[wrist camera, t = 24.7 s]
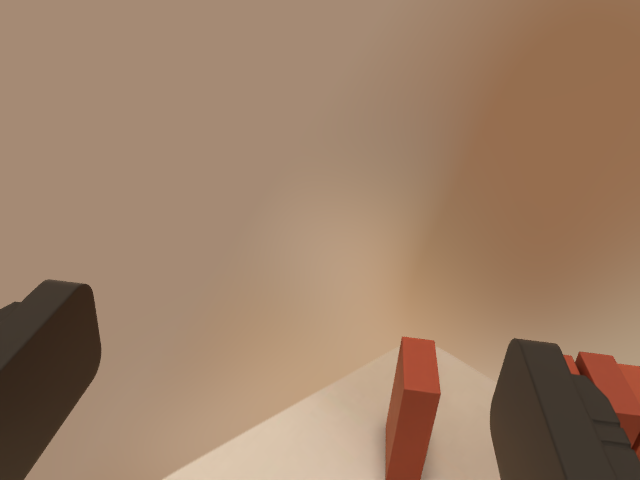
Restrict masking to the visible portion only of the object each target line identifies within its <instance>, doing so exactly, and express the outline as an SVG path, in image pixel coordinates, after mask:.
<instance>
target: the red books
mask: <svg viewBox="0 0 640 480" xmlns="http://www.w3.org/2000/svg"><path fill="white" fill-rule="evenodd" d="M563 356H564V358H565V360H566V363H567V365H568V367H569V369H570V372H571V374H577V375H585V376H587V377H588V378H589V379H590V380H591V381H592V382H593V383H594V384H595V385H596V386H597V387H598V388H599V389H600V391H601V392H602V393H603V394H604V395H605V396H606V397H607V398H608V399H609V401H610V403H611V405H612V407H613V409H614V411H615V413H616V415H617V417H618V419H619V421H620V423H621V424H620V427H621V428H623V429H624V431H625V433H626V435H627V437H628V439H629V441H630V443H631V449H633V450H634V451H635V453H636V455H637V457H638V459H639V461H640V366H632V365H624V364H617V363H616V361H615V359H614V357H613V356H610V355H602V354H595V353H586V352H579V354H578V356H577V359H576V361H575V362H574V360H573V358H572V356H569V355H563Z"/></svg>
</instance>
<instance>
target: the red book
mask: <svg viewBox="0 0 640 480" xmlns="http://www.w3.org/2000/svg"><path fill="white" fill-rule="evenodd" d="M440 395H441V392H440V384H439V375H438V367H437V358H436V350H435V342H434V341H432V340H425V339H417V338H409V337H402V341H401V345H400V351H399V356H398V362H397V367H396V373H395V378H394V384H393V389H392V395H391V401H390V406H389V412H388V417H387V423H386V480H420V479H421V474H422V470H423V466H424V462H425V458H426V453H427V449H428V445H429V441H430V437H431V432H432V428H433V424H434V420H435V416H436V411H437V407H438V403H439V399H440Z"/></svg>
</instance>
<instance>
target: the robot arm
mask: <svg viewBox="0 0 640 480" xmlns="http://www.w3.org/2000/svg"><path fill="white" fill-rule="evenodd" d="M100 359H101V343H100V336H99V329H98V323H97V316H96V309H95V302H94V296H93V292H92V289H91V287H90V286H89V285H87V284H80V283H73V282H65V281H57V280H45V281H43V282H42V283H41V284H40V285H39V286H38V287H37V288H35V289H34V290H33V291H32V292H31V293H30V294H29V295H28V296H27V297H26V298H25V299H24V300H23V301H22V302H14V303H12V304H10V305H8V306H6V307H4V308H2V309H0V480H24V478H25V477H26V476H27V474H28V473H29V471H30V470H31V469H32V467H33V466H34V464H35V463H36V461H37V460H38V458H39V457H40V456H41V454H42V453H43V451H44V450H45V448H46V447H47V445H48V444H49V442H50V441H51V439H52V438H53V436H54V435H55V434H56V432H57V431H58V429H59V428H60V426H61V425H62V424H63V422H64V421H65V419H66V418H67V416H68V415H69V414H70V412H71V411H72V409H73V408H74V406H75V405H76V404H77V402H78V401H79V399H80V398H81V396H82V395H83V393H84V392H85V390H86V389H87V387H88V386H89V384H90V383H91V382H92V380H93V379H94V377H95V375H96V373H97V370H98V367H99V363H100ZM620 424H621V423H620V421H619V419H618V417H617V415H616V413H615V411H614V409H613V407H612V405H611V403H610V401H609V399H608V398H607V397H606V396H605V395H604V394H603V393H602V392H601V391H600V389H599V388H598V387H597V386H596V385H595V384H594V383H593V382H592V381H591V380H590V379H589V378H588V377H587V376H585V375H577V374H571V372H570V369H569V367H568V365H567V363H566V360H565V358H564V356H563V354H562V351H561V349H560V347H559V346H558V345H557V344H554V343H546V342H539V341H531V340H523V339H515V338H514V339H512V340H511V342H510V344H509V346H508V349H507V352H506V355H505V359H504V362H503V366H502V369H501V372H500V375H499V379H498V382H497V385H496V389H495V392H494V395H493V399H492V403H491V410H490V430H491V436H492V441H493V446H494V450H495V455H496V459H497V464H498V468H499V473H500V478H501V480H640V461H639V459H638V457H637V455H636V453H635V451H634V450H633V449H631V443H630V441H629V439H628V437H627V435H626V433H625V431H624V429H623V428H621V427H620Z"/></svg>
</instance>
